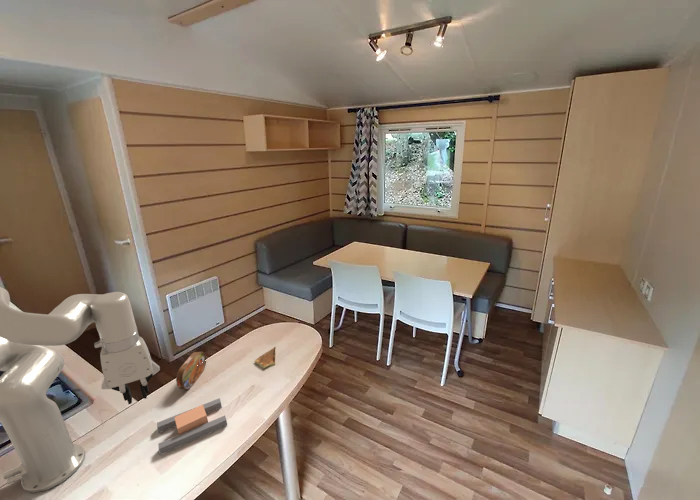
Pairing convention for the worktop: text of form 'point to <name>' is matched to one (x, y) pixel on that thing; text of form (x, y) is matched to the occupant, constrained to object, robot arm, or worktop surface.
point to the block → (191, 419)
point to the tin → (191, 370)
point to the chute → (190, 434)
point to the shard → (266, 359)
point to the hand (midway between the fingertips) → (137, 397)
